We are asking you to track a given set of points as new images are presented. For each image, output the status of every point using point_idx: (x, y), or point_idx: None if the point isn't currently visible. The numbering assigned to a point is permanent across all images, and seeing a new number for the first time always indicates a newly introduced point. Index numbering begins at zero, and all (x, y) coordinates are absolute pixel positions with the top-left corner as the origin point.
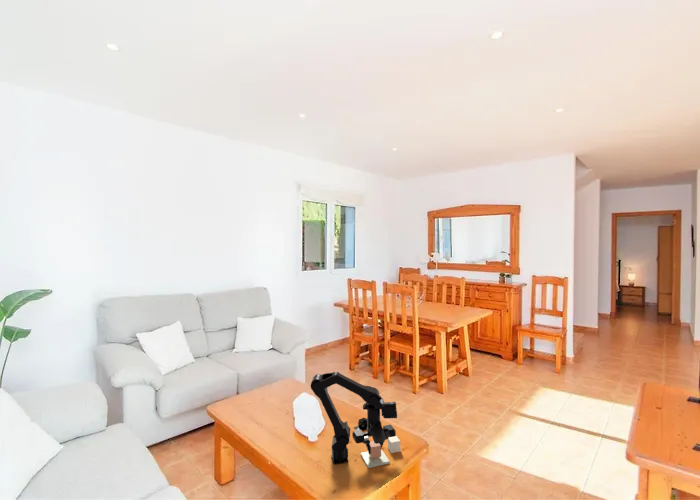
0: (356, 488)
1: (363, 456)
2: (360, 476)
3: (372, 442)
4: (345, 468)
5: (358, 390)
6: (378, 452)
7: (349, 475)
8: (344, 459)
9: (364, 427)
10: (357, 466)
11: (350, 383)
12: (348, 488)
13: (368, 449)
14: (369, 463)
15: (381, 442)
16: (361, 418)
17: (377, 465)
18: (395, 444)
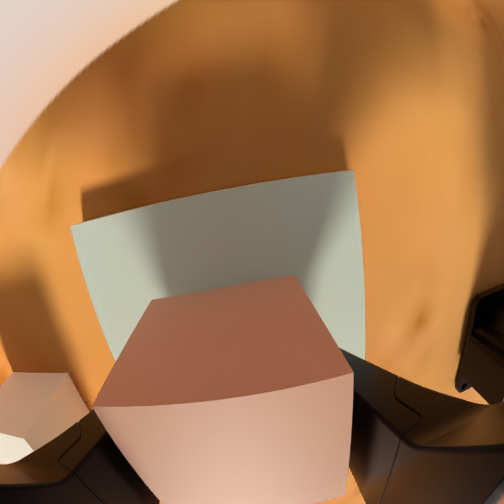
0: None
1: (357, 349)
2: (421, 70)
3: (271, 493)
4: (501, 215)
5: None
6: (177, 324)
7: (489, 119)
8: (495, 311)
9: None
10: (430, 222)
11: None
12: (478, 5)
13: (367, 366)
14: (326, 212)
15: (74, 461)
16: None
17: (224, 189)
18: (7, 415)
